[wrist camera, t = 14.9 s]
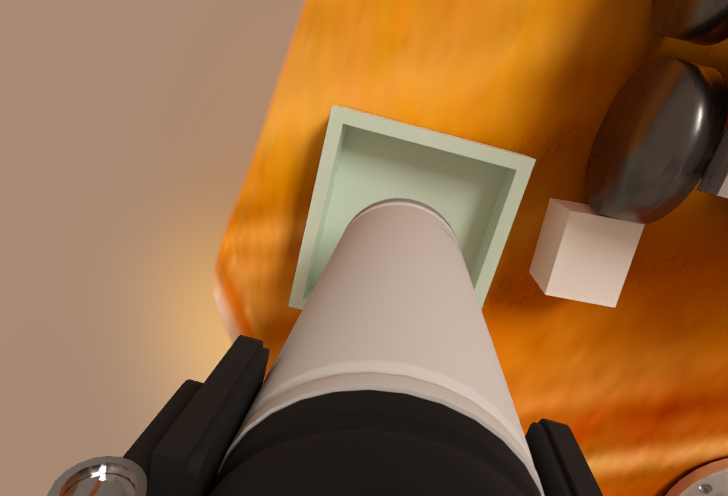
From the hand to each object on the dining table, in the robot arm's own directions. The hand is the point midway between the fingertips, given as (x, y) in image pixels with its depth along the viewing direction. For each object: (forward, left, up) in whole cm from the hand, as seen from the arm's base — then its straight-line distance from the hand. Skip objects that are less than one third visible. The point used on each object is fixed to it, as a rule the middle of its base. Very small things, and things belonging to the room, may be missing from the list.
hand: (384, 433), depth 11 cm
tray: (0, 0, -20) cm, 20 cm away
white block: (+2, -11, -21) cm, 23 cm away
